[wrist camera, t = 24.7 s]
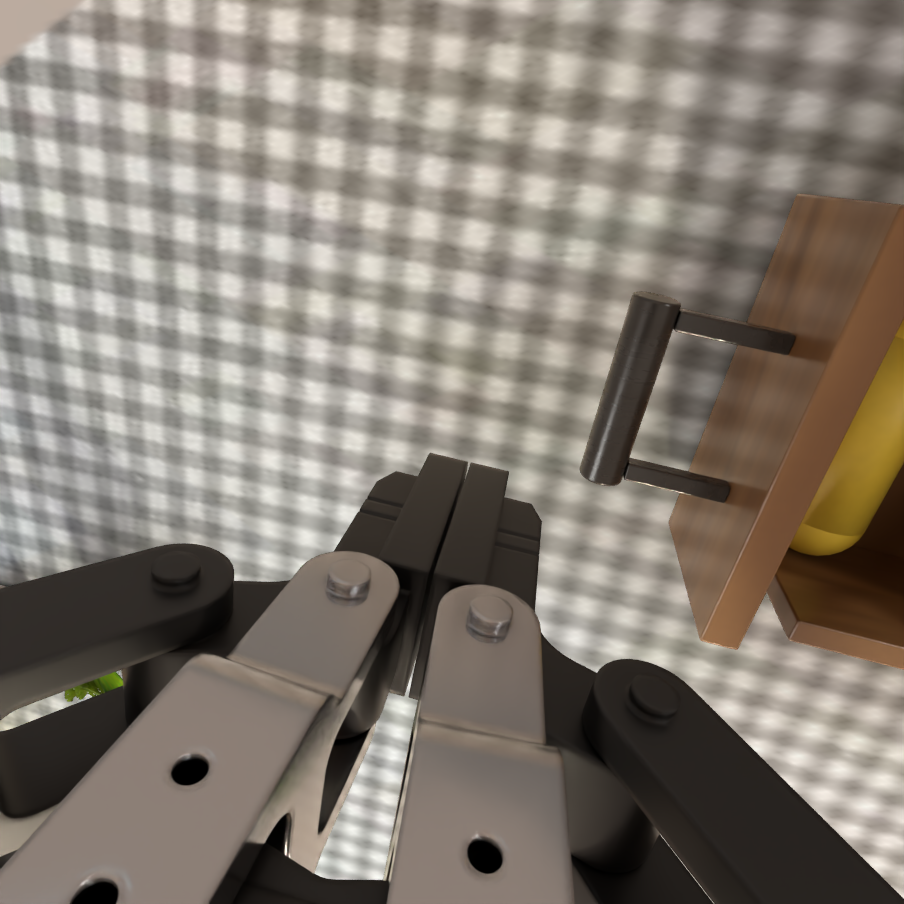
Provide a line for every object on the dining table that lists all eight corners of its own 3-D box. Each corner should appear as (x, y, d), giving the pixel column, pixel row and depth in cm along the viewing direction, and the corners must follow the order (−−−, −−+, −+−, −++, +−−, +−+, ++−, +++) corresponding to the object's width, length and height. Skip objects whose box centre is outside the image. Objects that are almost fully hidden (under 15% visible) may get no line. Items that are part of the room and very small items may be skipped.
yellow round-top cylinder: (855, 261, 20) (899, 276, 17) (960, 283, 20) (1023, 301, 17) (741, 513, 24) (761, 559, 21) (826, 535, 24) (859, 584, 21)
